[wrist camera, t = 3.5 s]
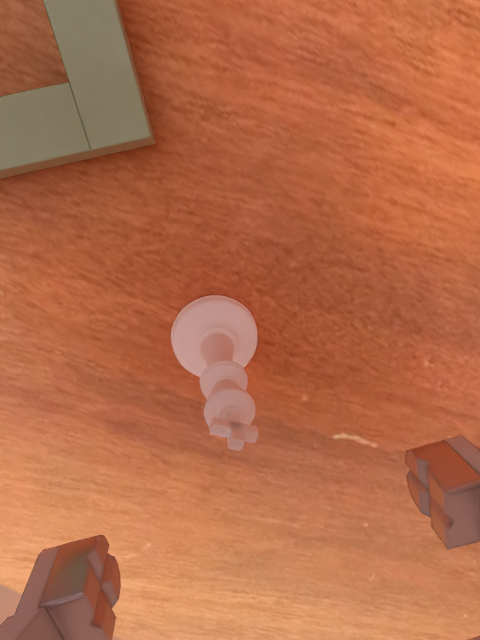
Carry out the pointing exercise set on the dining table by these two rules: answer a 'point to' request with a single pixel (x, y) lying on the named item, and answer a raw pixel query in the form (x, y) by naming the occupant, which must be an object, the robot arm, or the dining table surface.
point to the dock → (78, 95)
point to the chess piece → (219, 362)
